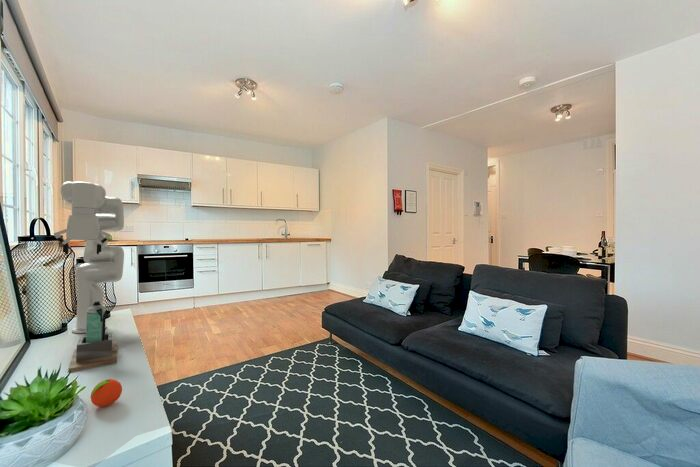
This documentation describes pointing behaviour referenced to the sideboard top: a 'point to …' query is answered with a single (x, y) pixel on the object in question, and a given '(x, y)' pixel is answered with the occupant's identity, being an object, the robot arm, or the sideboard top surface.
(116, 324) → the sideboard top surface
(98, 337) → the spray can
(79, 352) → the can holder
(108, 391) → the tomato
